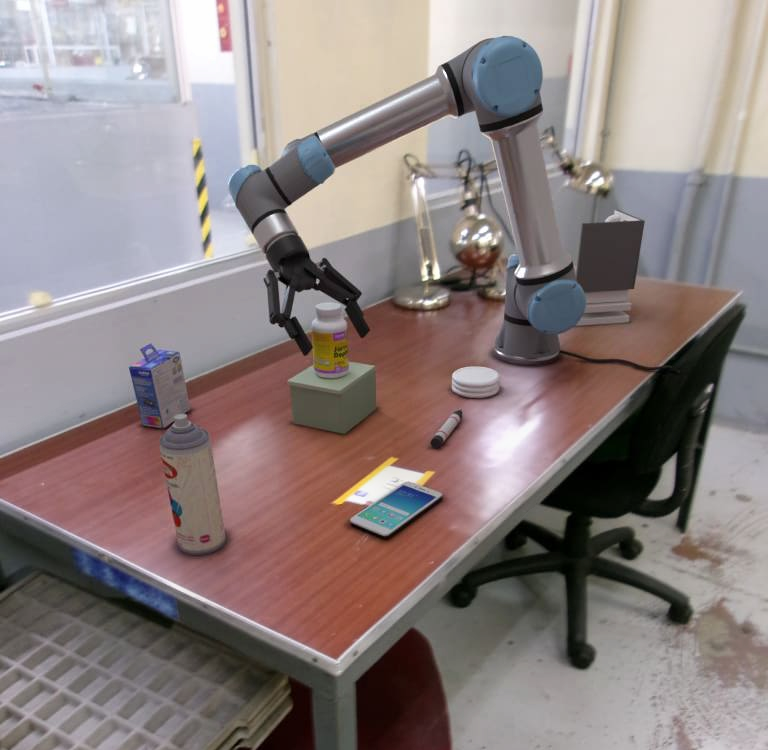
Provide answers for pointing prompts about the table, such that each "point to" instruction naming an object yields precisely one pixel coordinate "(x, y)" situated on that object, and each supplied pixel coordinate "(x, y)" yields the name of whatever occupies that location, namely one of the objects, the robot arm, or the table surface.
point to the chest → (334, 406)
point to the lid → (331, 379)
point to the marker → (446, 429)
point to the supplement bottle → (330, 341)
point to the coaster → (475, 382)
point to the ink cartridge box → (159, 387)
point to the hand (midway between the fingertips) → (338, 343)
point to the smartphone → (396, 509)
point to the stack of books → (608, 267)
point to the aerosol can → (192, 487)
